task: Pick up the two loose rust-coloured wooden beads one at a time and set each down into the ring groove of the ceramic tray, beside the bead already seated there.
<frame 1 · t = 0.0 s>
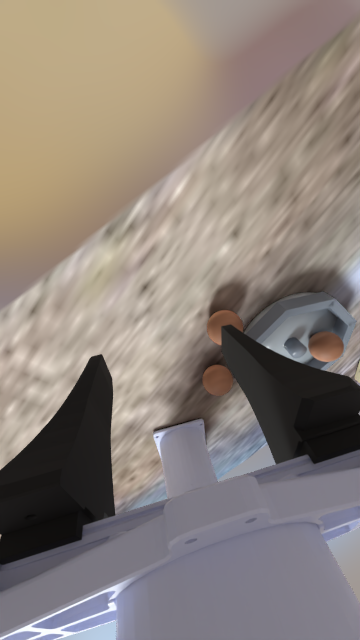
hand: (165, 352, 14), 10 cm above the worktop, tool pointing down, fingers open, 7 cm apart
bead 1: (217, 379, 29), point 2 cm above the worktop
bead seated: (325, 346, 29), point 3 cm above the worktop, touching groove tray
bead 2: (224, 327, 25), point 2 cm above the worktop
groove tray: (287, 339, 31), on the worktop
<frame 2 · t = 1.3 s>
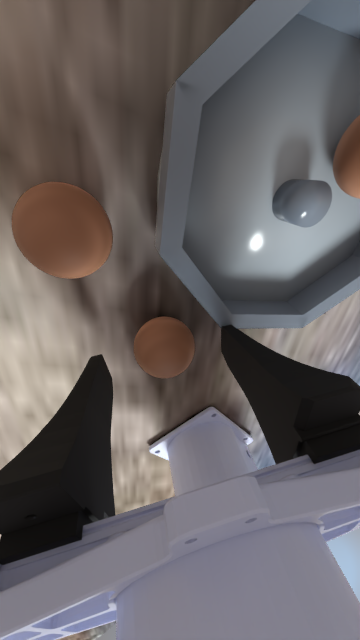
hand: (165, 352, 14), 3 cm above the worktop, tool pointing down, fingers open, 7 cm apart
bead 1: (164, 346, 14), point 2 cm above the worktop
bead 2: (66, 233, 10), point 2 cm above the worktop
groove tray: (280, 199, 13), on the worktop
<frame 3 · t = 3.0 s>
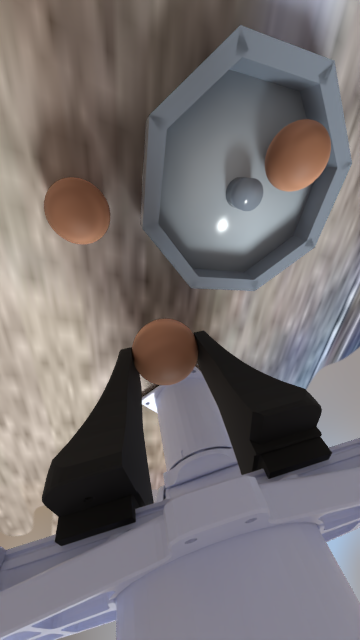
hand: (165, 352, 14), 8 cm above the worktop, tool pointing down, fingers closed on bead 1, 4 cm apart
bead 1: (165, 351, 13), point 9 cm above the worktop, touching gripper
bead seated: (295, 158, 15), point 3 cm above the worktop, touching groove tray
bead 2: (78, 212, 15), point 2 cm above the worktop
groove tray: (233, 191, 18), on the worktop
when the fingers open (4 cm above the worktop, at t = 4.8 s): bead 1 drops 1 cm, resting on groove tray.
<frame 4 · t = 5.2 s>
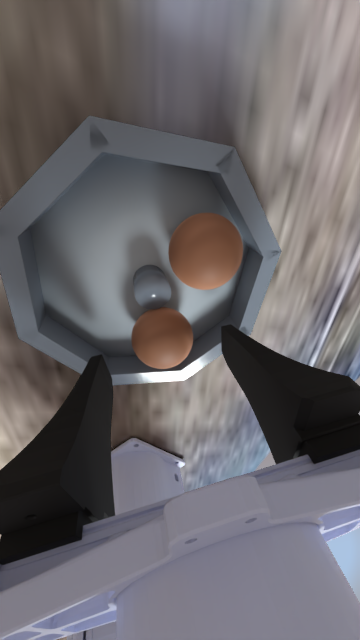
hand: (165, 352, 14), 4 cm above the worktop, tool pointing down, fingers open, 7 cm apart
bead 1: (162, 337, 14), point 3 cm above the worktop, touching groove tray
bead seated: (205, 252, 12), point 3 cm above the worktop, touching groove tray
groove tray: (148, 275, 15), on the worktop
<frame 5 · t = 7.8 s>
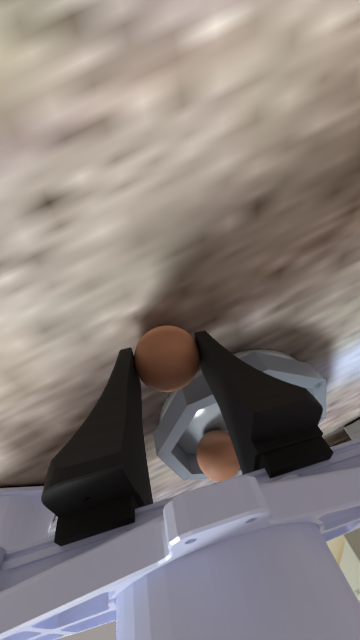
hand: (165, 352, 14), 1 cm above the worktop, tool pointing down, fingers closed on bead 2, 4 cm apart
bead 1: (218, 454, 20), point 3 cm above the worktop, touching groove tray
skincare box 2: (294, 461, 32), on the worktop
bead 2: (167, 357, 14), point 2 cm above the worktop, touching gripper
groove tray: (234, 408, 21), on the worktop
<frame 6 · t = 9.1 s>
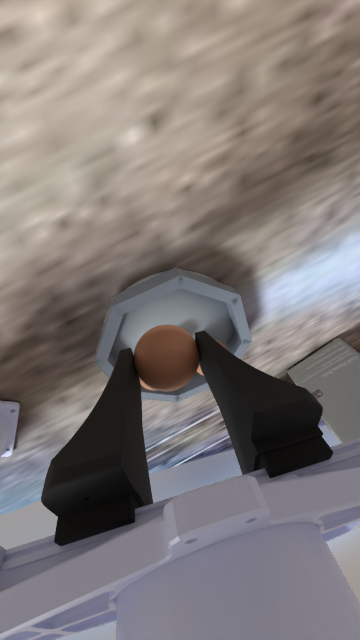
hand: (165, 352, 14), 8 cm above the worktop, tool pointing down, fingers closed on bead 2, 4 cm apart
bead 2: (166, 357, 13), point 9 cm above the worktop, touching gripper
groove tray: (173, 334, 24), on the worktop
skincare box: (315, 365, 33), on the worktop
when the fingers open (4 cm above the worktop, at t = 10.6 s): bead 2 drops 1 cm, resting on groove tray.
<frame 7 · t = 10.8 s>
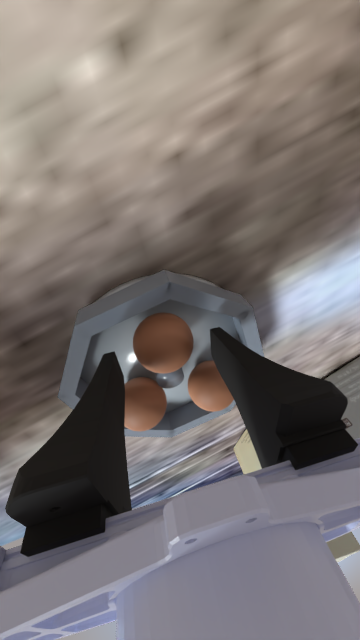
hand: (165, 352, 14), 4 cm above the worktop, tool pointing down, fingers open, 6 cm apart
bead 1: (141, 403, 17), point 3 cm above the worktop, tilted 7°, touching groove tray
bead seated: (212, 385, 18), point 3 cm above the worktop, touching groove tray
skincare box 2: (254, 432, 30), on the worktop
bead 2: (163, 342, 15), point 3 cm above the worktop, touching groove tray
groove tray: (164, 355, 19), on the worktop
skincare box: (337, 383, 28), on the worktop
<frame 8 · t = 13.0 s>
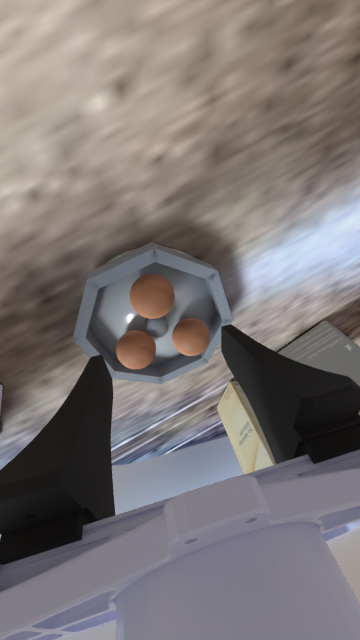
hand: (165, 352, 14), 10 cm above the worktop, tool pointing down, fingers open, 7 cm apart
bead 1: (136, 349, 22), point 3 cm above the worktop, tilted 9°, touching groove tray
bead seated: (191, 336, 23), point 3 cm above the worktop, touching groove tray
skincare box 2: (234, 393, 35), on the worktop
bead 2: (152, 296, 20), point 3 cm above the worktop, touching groove tray
groove tray: (154, 314, 24), on the worktop
skincare box: (303, 349, 33), on the worktop
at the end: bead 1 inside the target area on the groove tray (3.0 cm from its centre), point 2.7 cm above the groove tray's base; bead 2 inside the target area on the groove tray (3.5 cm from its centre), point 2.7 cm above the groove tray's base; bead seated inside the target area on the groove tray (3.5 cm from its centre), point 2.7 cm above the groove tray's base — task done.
